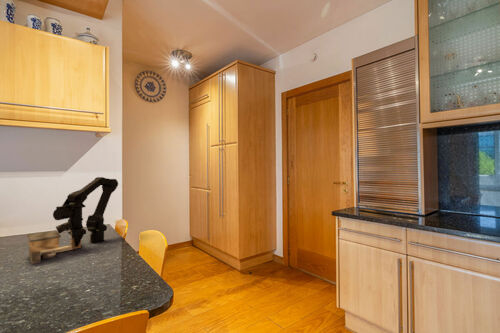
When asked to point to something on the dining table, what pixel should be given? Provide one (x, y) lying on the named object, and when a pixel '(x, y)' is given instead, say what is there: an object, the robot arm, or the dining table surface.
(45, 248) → the cabinet
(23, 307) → the dining table surface
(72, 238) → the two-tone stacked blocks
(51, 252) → the token
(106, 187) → the robot arm
